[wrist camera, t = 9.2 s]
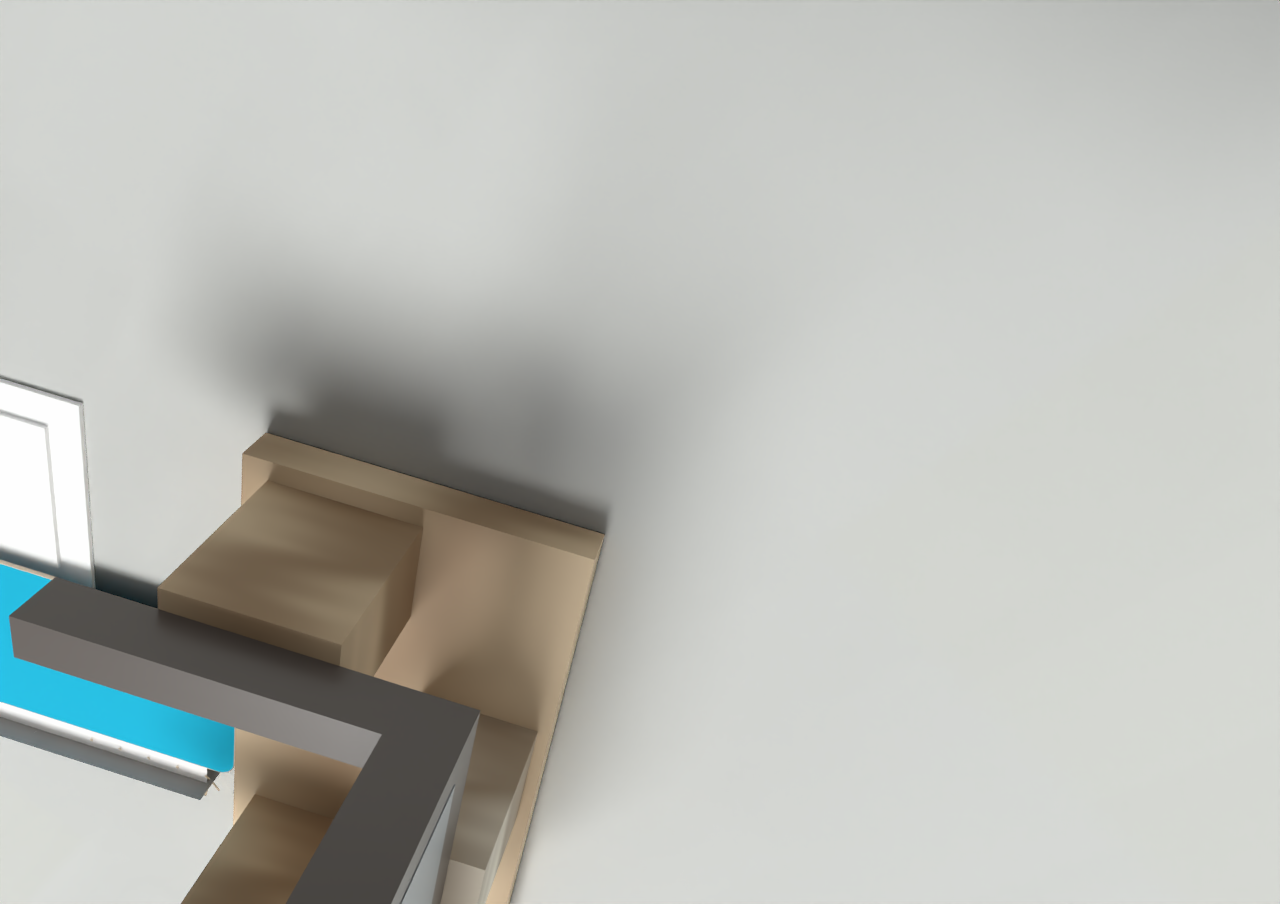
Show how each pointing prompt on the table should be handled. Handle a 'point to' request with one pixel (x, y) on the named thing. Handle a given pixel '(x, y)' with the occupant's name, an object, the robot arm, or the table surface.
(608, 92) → the table surface
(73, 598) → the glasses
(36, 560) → the blue flat piece
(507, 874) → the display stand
